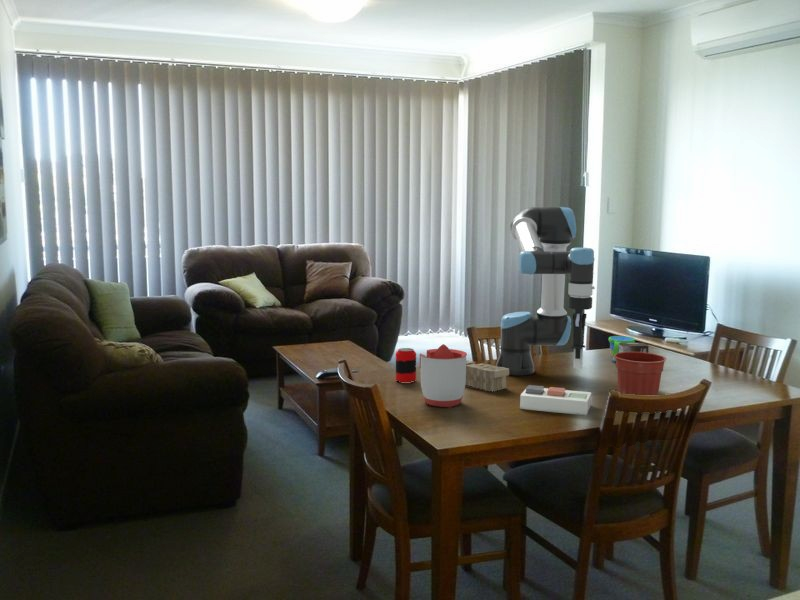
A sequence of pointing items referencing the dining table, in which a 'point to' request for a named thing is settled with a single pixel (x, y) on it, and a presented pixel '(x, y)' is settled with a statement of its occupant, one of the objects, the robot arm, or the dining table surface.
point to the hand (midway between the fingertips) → (577, 367)
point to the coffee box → (633, 347)
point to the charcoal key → (535, 389)
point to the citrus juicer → (443, 376)
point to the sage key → (578, 396)
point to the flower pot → (639, 372)
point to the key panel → (556, 402)
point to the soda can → (405, 365)
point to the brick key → (556, 391)
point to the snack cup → (615, 344)
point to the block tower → (486, 376)
